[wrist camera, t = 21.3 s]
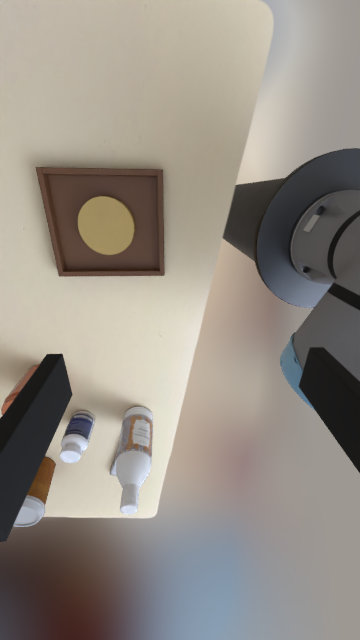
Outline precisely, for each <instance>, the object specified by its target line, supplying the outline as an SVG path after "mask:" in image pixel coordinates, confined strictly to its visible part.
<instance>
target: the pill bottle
mask: <svg viewBox="0 0 360 640" xmlns="http://www.w3.org/2000/svg"><path fill="white" fill-rule="evenodd" d="M94 421H95V419H94V416H93V415H92V414H91V413H89V412H87V411H78V412H76V413H74V414H73V415H72V417H71V419H70V422H69V424H68V426H67V429H66V431H65V434H64V436H63V439H62V441H61V446H62V450H61V453H60V459H61V460H62V461H64V462H67V463H74V462H77V461H78V460H79V459H80V456H81V453H82V452H83V451H84V450H85V449H86V448H87V445H88V442H89V438H90V435H91V432H92V429H93V425H94Z"/></svg>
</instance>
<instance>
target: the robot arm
mask: <svg viewBox="0 0 360 640" xmlns="http://www.w3.org/2000/svg"><path fill="white" fill-rule="evenodd" d="M288 250H289V258H290V261H291V264H292V266H293V267H294V269H295V270H296V271H297V272H298V273H299V274H300V275H301V276H303V277H304V278H306V279H308V280H310V281H312V282H316V283H320V284H332V285H331V286H330V288H329V289H328V290H327V291H326V293H325V294H324V295H323V297H322V298H321V299H320V301H319V302H318V303H317V305H316V306H315V307H314V309H313V310H312V311H311V313H310V314H309V316H308V317H307V318H306V320H305V321H304V322H303V324H302V325H301V326H300V328H299V329H298V330H297V331H296V332H295V333H294V334H293V335H292V336H291V338H290V341H289V343H288V344H287V346H286V348H285V349H284V350H283V352H282V354H281V357H280V365H281V367H282V372H283V374H284V376H285V378H286V380H287V381H288V383H289V384H290V386H291V387H292V388H293V389H294V391H295V392H296V393H297V394H298V395H299V396H300V397H301V398H302V399H303V400H304V401H305V402H306V403H307V404H308V405H309V406H310V407H311V408H313V409H314V410H315V411H316V412H317V413H318V414H319V416H320V418H321V419H322V420H323V422H324V423H325V425H326V426H327V427H328V429H329V430H330V432H331V433H332V434H333V436H334V437H335V439H336V440H337V442H338V443H339V444H340V446H341V447H342V449H343V450H344V451H345V453H346V454H347V456H348V457H349V458H350V460H351V461H352V463H353V464H354V466H355V467H356V468H357V470H358V471H359V472H360V191H359V190H352V189H348V190H336V191H332V192H329V193H327V194H325V195H323V196H321V197H319V198H318V199H316V200H315V201H313V202H312V203H311V204H310V205H309V206H308V207H307V208H306V209H305V210H304V211H303V212H302V213H301V215H300V216H299V218H298V219H297V221H296V223H295V224H294V227H293V229H292V232H291V234H290V239H289V247H288ZM71 397H72V391H71V387H70V383H69V379H68V375H67V370H66V366H65V362H64V358H63V354H47V355H46V356H45V358H44V359H43V361H42V362H41V363H40V365H39V366H38V367H37V369H36V370H35V372H34V373H33V374H32V376H31V377H30V379H29V380H28V381H27V383H26V384H25V385H24V387H23V388H22V390H21V391H20V392H19V394H18V395H17V396H16V398H15V399H14V401H13V402H12V403H11V405H10V406H9V407H8V409H7V410H6V412H5V413H4V414H3V416H2V417H1V418H0V542H4V541H6V540H7V538H8V536H9V534H10V531H11V529H12V527H13V525H14V523H15V520H16V518H17V516H18V514H19V512H20V509H21V507H22V505H23V503H24V501H25V498H26V496H27V494H28V492H29V489H30V487H31V485H32V483H33V481H34V478H35V476H36V474H37V472H38V470H39V467H40V465H41V463H42V461H43V459H44V456H45V454H46V452H47V450H48V447H49V445H50V443H51V441H52V439H53V436H54V434H55V432H56V430H57V428H58V425H59V423H60V421H61V419H62V416H63V414H64V412H65V410H66V408H67V405H68V403H69V401H70V399H71Z"/></svg>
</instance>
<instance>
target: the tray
mask: <svg viewBox="0 0 360 640" xmlns="http://www.w3.org/2000/svg"><path fill="white" fill-rule="evenodd" d="M36 171H37V175H38V180H39V185H40V190H41V194H42V199H43V204H44V208H45V213H46V218H47V222H48V227H49V232H50V236H51V241H52V246H53V250H54V255H55V260H56V264H57V269H58V274H59V276H164V220H163V170H162V169H107V168H52V167H36ZM99 196H109V197H113V198H116V199H118V200H120V201H121V202H123V203H124V204H125V205H126V206H127V207H128V208H129V210H130V211H131V213H132V214H133V218H134V221H135V229H136V230H135V234H134V238H133V240H132V242H131V244H130V245H129V246H128V247H127V248H126V249H125V250H124V251H122V252H121V253H118V254H114V255H105V254H101V253H98V252H96V251H94V250H93V249H91V248H90V247H89V246H88V245H87V244H86V243H85V242H84V240H83V239H82V237H81V235H80V232H79V229H78V215H79V212H80V210H81V208H82V206H83V205H84V204H85V203H86V202H87V201H88V200H90V199H92V198H94V197H99Z"/></svg>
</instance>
